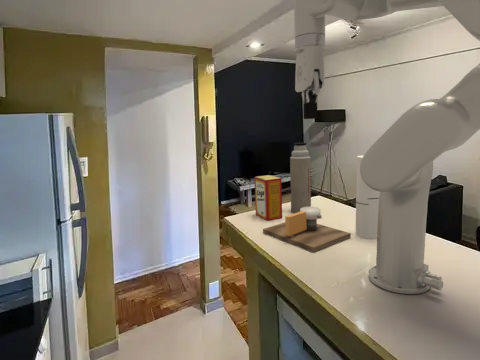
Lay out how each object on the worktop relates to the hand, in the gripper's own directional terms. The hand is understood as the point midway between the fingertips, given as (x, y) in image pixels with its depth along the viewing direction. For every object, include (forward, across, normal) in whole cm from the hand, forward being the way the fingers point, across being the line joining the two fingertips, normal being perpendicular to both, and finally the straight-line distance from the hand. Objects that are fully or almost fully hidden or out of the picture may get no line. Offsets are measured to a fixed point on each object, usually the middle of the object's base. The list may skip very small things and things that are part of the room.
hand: (310, 118), depth 84 cm
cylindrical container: (+37, -9, +21) cm, 44 cm away
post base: (+37, -13, +2) cm, 39 cm away
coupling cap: (+35, -12, +1) cm, 37 cm away
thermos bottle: (+37, -40, +9) cm, 55 cm away
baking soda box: (+37, -36, -5) cm, 52 cm away
